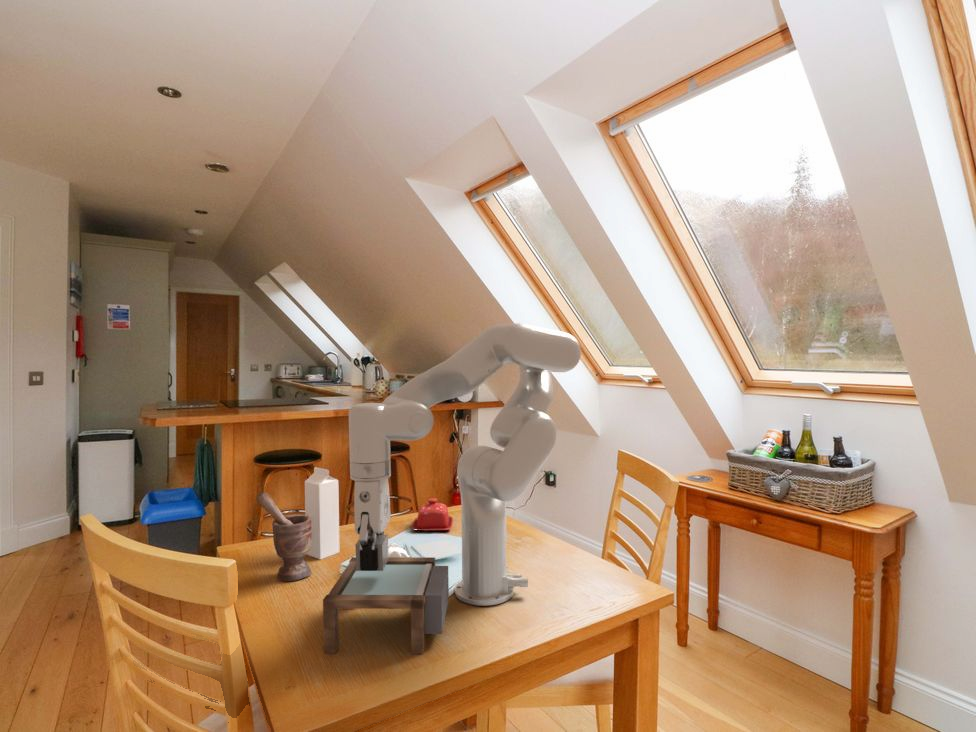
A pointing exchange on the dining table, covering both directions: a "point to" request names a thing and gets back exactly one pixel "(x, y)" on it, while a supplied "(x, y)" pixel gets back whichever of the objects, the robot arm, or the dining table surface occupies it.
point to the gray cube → (382, 552)
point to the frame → (373, 605)
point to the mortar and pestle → (289, 539)
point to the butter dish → (433, 517)
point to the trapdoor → (408, 588)
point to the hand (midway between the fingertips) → (372, 562)
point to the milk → (322, 513)
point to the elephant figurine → (396, 551)
